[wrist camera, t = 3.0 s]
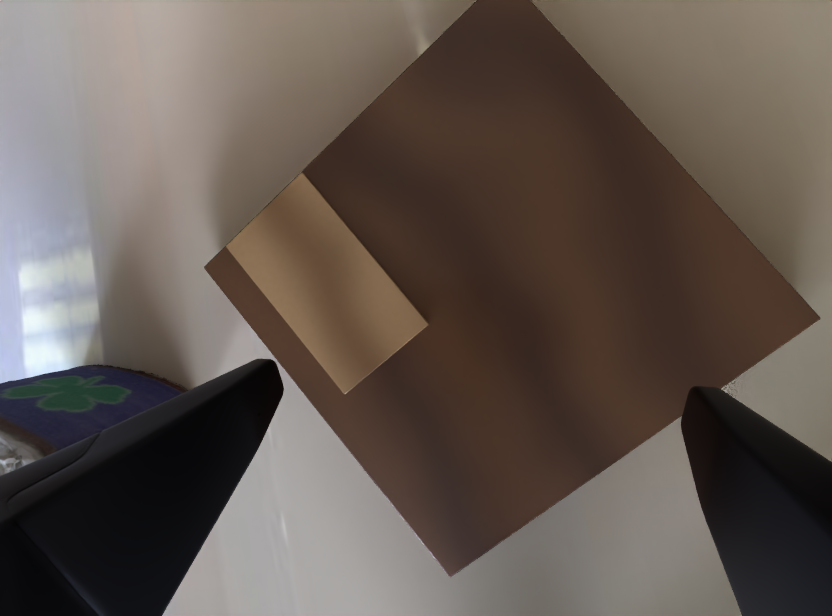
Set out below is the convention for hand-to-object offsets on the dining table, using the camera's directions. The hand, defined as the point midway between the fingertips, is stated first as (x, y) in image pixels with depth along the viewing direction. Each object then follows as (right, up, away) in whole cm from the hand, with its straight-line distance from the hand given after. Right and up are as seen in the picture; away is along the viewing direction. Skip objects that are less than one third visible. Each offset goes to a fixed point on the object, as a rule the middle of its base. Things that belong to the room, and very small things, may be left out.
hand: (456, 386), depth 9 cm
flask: (-19, -4, +18) cm, 26 cm away
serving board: (+3, +3, +14) cm, 14 cm away
